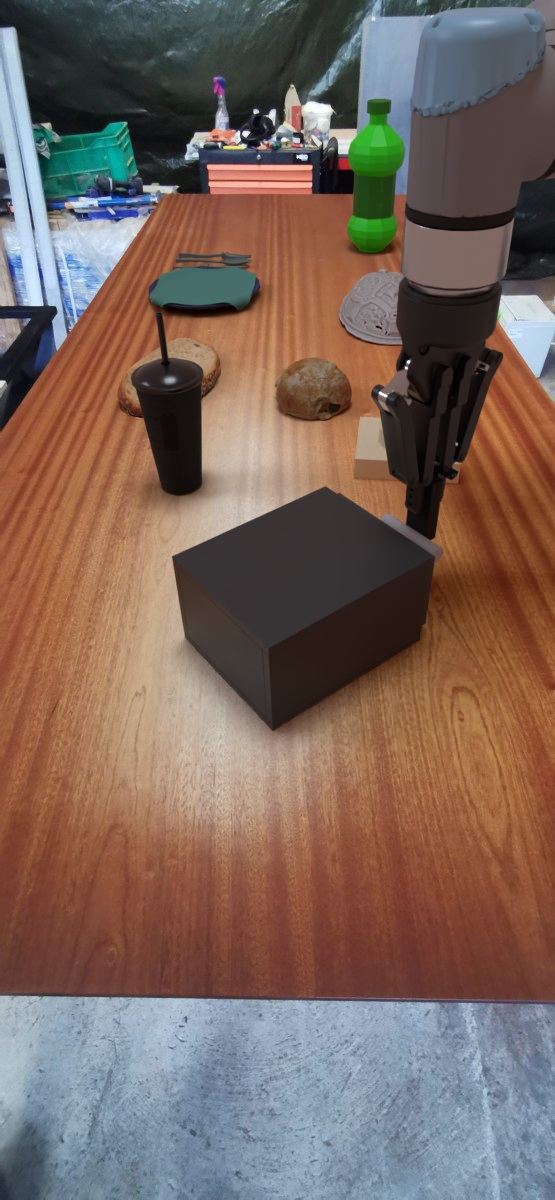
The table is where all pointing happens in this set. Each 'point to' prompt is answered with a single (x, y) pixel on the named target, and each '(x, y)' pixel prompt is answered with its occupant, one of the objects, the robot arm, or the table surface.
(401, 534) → the drawer
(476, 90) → the robot arm
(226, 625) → the cabinet
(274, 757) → the table surface
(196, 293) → the cutlery set
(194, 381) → the drinking cup
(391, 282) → the grey ornate dome
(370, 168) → the plastic bottle
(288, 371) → the bread roll
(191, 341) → the slice of bread
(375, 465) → the control block
